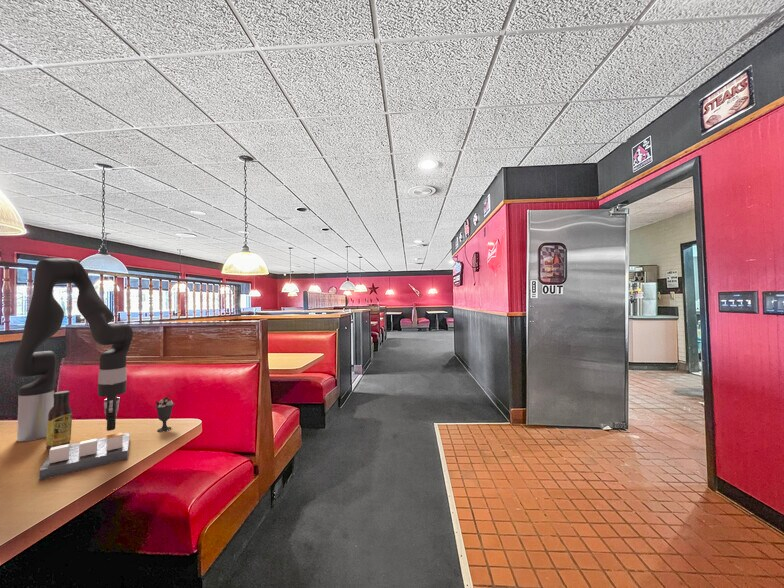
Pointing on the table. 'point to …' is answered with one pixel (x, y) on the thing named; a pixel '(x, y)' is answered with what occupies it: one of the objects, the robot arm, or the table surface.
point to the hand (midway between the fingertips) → (111, 429)
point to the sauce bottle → (59, 421)
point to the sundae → (164, 412)
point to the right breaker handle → (59, 453)
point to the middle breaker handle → (87, 447)
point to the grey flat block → (85, 459)
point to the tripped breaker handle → (114, 441)
